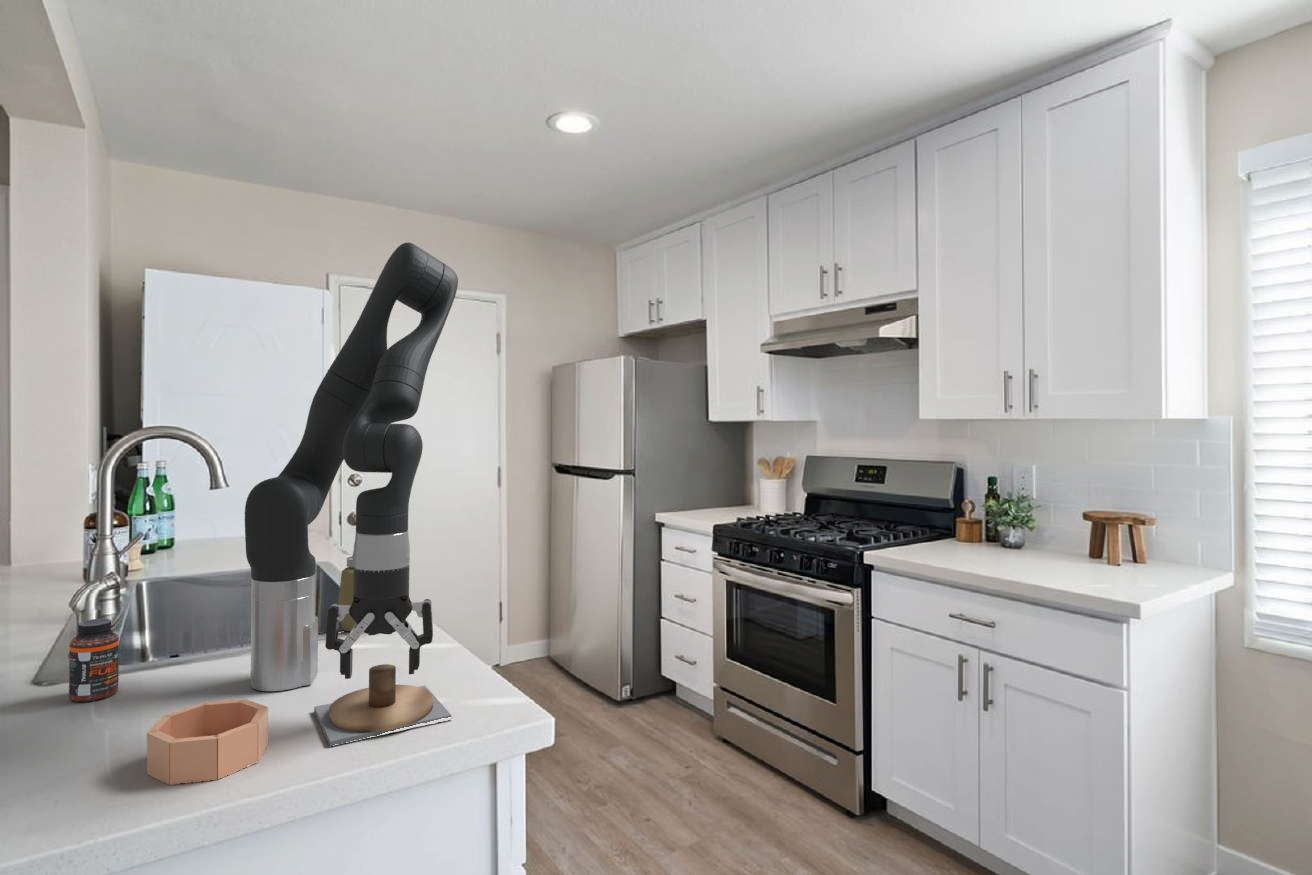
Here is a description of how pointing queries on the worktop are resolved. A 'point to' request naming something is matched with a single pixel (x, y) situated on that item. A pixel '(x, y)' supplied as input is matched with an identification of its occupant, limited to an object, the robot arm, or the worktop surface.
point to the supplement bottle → (93, 661)
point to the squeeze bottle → (347, 593)
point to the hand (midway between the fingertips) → (380, 674)
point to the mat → (343, 736)
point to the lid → (381, 704)
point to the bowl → (207, 741)
